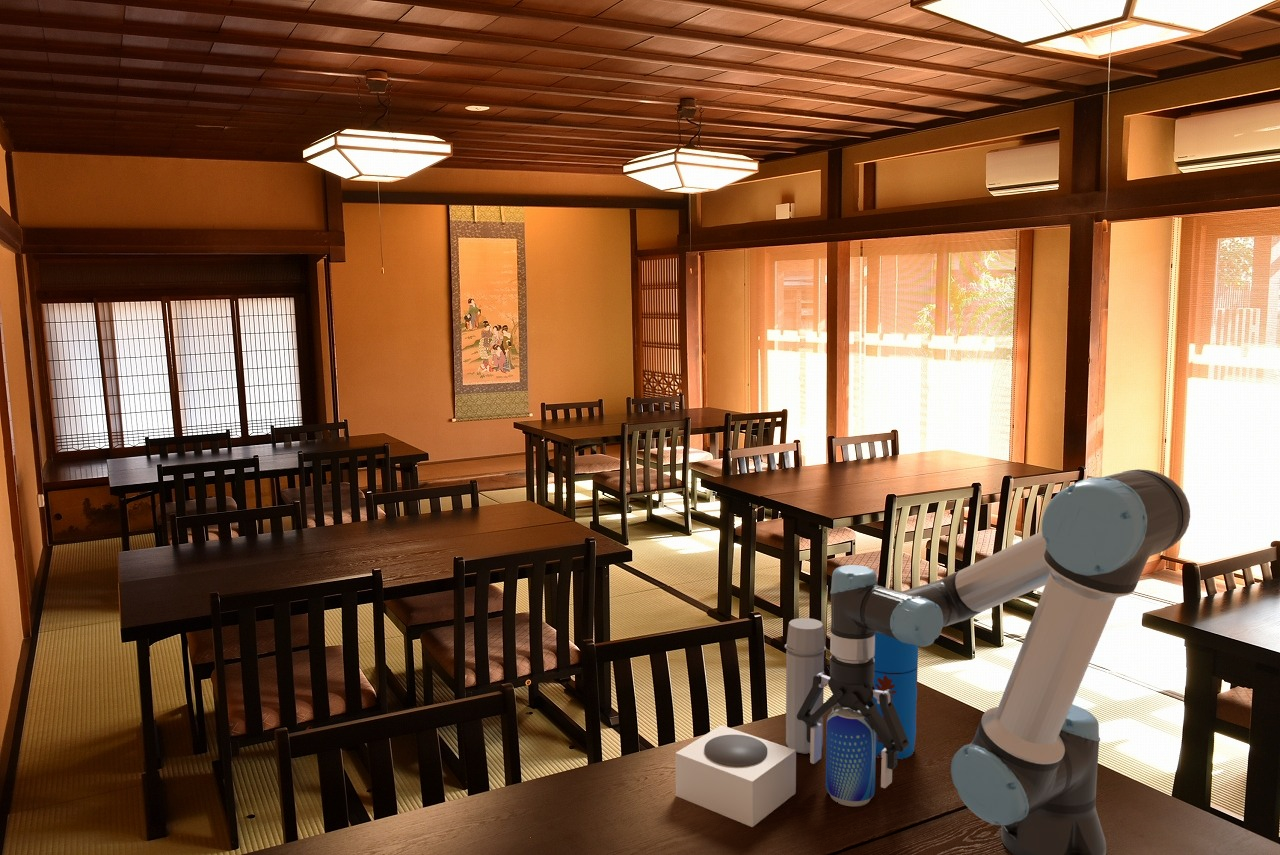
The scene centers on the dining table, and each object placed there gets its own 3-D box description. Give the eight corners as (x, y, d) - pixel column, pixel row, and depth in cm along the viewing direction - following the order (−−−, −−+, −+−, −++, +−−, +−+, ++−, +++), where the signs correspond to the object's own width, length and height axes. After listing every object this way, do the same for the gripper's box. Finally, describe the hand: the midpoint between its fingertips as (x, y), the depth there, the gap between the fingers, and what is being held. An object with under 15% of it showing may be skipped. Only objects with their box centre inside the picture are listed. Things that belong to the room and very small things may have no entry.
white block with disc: (795, 792, 163) (796, 747, 162) (752, 827, 152) (752, 778, 151) (721, 765, 173) (721, 722, 172) (675, 795, 163) (675, 750, 162)
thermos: (856, 756, 176) (858, 630, 173) (859, 731, 186) (861, 612, 183) (915, 763, 173) (918, 635, 170) (915, 738, 183) (918, 616, 180)
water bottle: (824, 757, 176) (826, 631, 173) (783, 754, 177) (783, 628, 174) (824, 735, 185) (826, 615, 182) (785, 732, 186) (786, 613, 183)
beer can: (819, 801, 160) (820, 714, 158) (833, 780, 167) (834, 695, 165) (868, 813, 156) (869, 723, 154) (879, 790, 163) (881, 704, 161)
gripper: (931, 666, 153) (927, 786, 156) (800, 634, 169) (798, 743, 172) (912, 680, 148) (908, 804, 150) (778, 645, 164) (777, 758, 166)
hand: (850, 772), depth 161 cm, fingers open, 13 cm apart
